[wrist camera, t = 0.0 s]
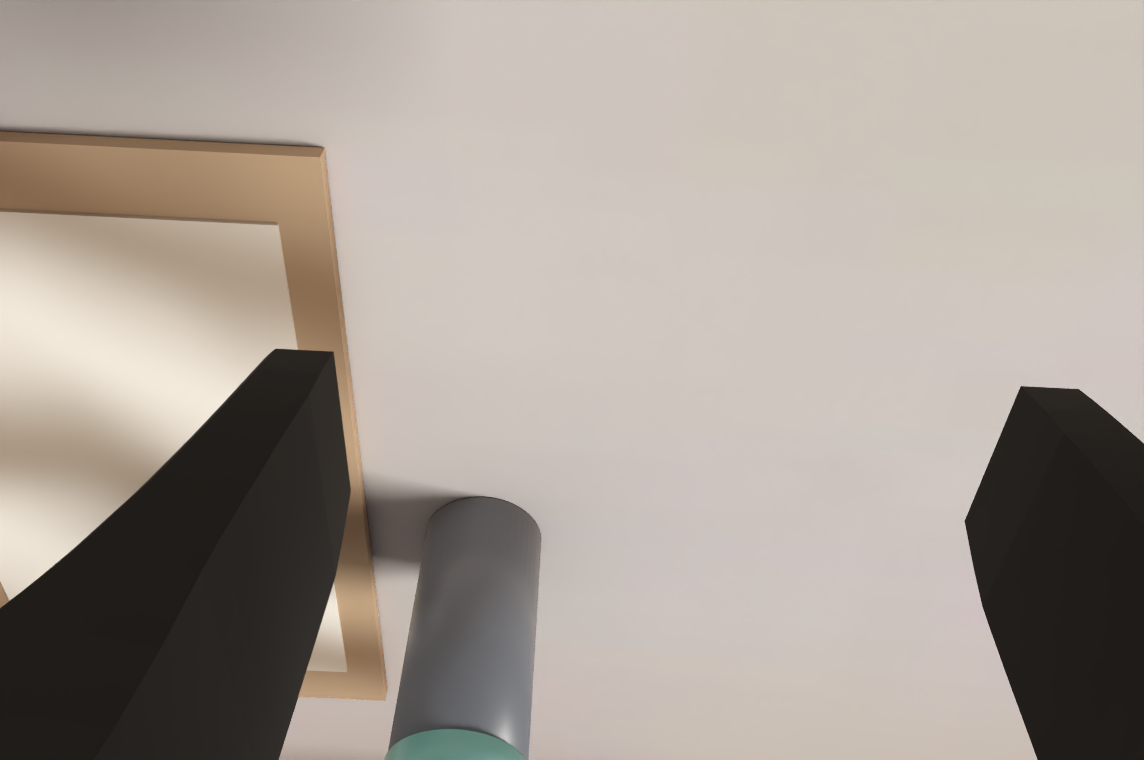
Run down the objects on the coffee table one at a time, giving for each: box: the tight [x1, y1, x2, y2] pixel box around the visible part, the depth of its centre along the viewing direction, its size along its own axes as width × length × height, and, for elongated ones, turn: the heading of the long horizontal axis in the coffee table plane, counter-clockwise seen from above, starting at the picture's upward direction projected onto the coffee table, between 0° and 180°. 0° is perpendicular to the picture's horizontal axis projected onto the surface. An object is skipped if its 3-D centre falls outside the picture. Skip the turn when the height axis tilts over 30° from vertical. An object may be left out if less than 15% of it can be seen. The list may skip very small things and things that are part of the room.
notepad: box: [0, 131, 387, 701], centre depth 26 cm, size 18×11×1 cm, turn 177°
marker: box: [384, 497, 541, 760], centre depth 24 cm, size 3×3×8 cm
